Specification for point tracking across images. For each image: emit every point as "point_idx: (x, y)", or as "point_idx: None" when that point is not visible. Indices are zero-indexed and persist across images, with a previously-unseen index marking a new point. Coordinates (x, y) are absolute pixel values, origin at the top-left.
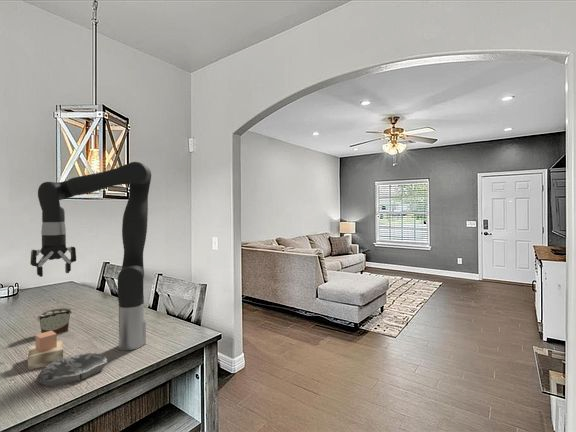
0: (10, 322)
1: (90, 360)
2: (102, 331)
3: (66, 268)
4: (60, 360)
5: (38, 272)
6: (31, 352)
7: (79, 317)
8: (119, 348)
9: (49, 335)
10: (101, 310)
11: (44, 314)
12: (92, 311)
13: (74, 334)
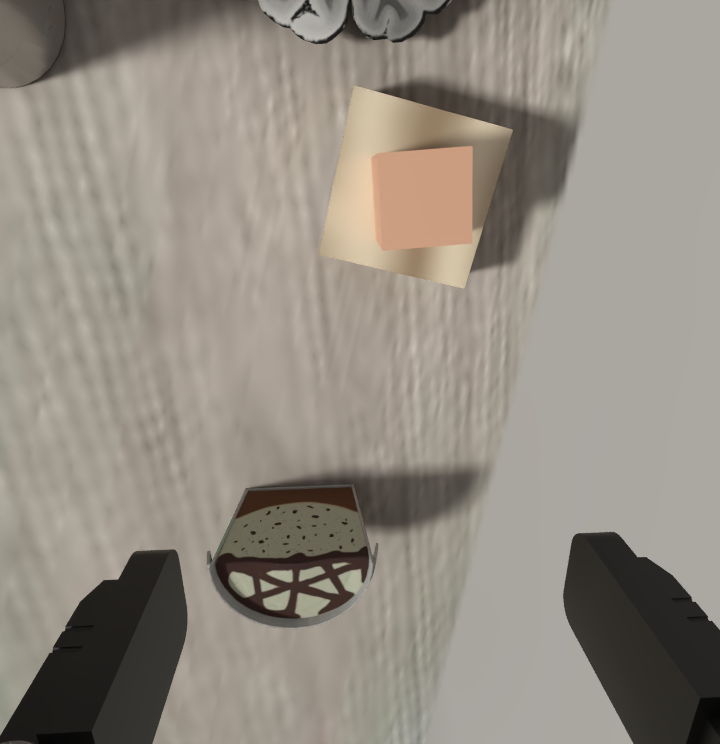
0: (407, 738)
1: None
2: (100, 370)
3: (148, 652)
4: (383, 10)
5: (684, 602)
6: (483, 184)
7: None
8: (63, 8)
9: (417, 155)
10: None
11: (338, 593)
12: None
13: (228, 430)
